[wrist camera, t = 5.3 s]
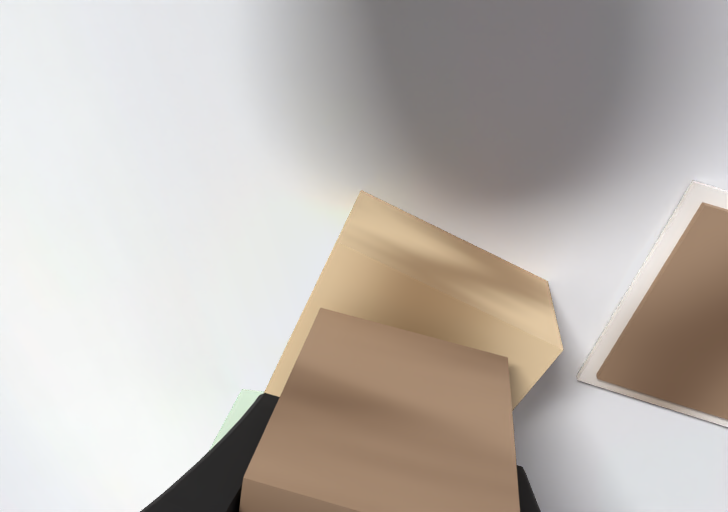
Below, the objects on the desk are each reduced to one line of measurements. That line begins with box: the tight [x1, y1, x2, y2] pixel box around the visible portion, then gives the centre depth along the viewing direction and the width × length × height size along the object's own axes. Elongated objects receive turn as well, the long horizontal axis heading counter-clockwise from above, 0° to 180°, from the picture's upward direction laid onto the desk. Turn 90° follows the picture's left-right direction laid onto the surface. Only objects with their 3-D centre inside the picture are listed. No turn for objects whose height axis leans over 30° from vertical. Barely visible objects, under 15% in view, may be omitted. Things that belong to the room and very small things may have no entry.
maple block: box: [264, 190, 563, 411], centre depth 16 cm, size 6×6×4 cm
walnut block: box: [239, 308, 520, 512], centre depth 12 cm, size 4×4×5 cm
